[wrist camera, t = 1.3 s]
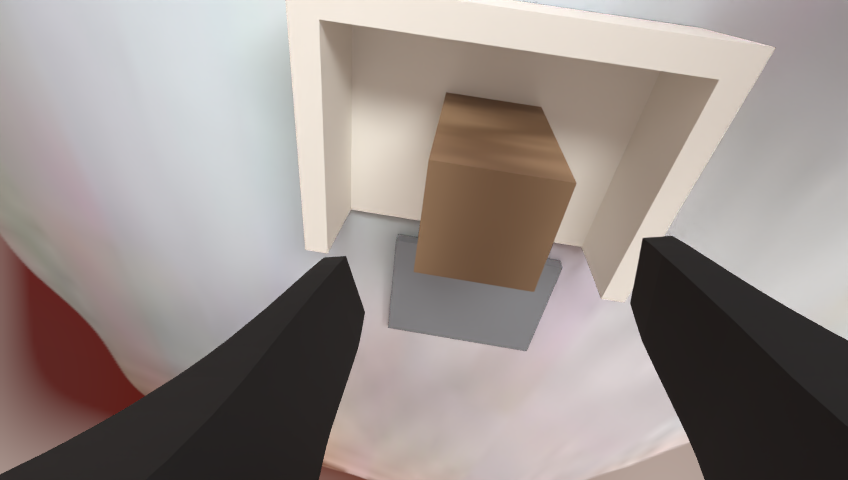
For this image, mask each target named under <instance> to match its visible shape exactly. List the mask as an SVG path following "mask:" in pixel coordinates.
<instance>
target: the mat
mask: <svg viewBox="0 0 848 480" xmlns="http://www.w3.org/2000/svg"><path fill="white" fill-rule="evenodd" d="M417 242H418V238H417V237H411V236H405V235H399V234H398V237H397V240H396V249H395V260H394V271H393V281H392V292H391V303H390V313H389V324H388V328H393V329H399V330H405V331H411V332H416V333H422V334H428V335H434V336H440V337H446V338H452V339H458V340H463V341H469V342H475V343H481V344H487V345H493V346H499V347H505V348H510V349H516V350H522V351H527V349H528V347H529V345H530V342H531V340H532V338H533V335H534V333H535V331H536V328H537V326H538V324H539V321H540V319H541V317H542V314H543V312H544V310H545V307H546V305H547V303H548V300H549V298H550V296H551V293H552V291H553V289H554V286H555V284H556V282H557V279H558V277H559V275H560V272H561V270H562V265H561V261H558V260H552V259H547V260H546V263H545V265H544V268H543V271H542V273H541V276H540V278H539V281H538V283H537V286H536V288H535V291H534V292H530V291H524V290H518V289H512V288H506V287H500V286H494V285H488V284H482V283H476V282H470V281H464V280H458V279H452V278H446V277H440V276H434V275H428V274H422V273H416V272H414V265H415V257H416V250H417Z"/></svg>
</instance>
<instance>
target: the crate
mask: <svg viewBox="0 0 848 480" xmlns="http://www.w3.org/2000/svg"><path fill="white" fill-rule="evenodd" d="M285 1H286V13H287V26H288V38H289V51H290V63H291V76H292V89H293V101H294V114H295V126H296V139H297V151H298V164H299V177H300V189H301V202H302V214H303V227H304V239H305V250H310V251H316V252H322V253H328V252H329V250H330V248H331V246H332V244H333V243H334V241H335V239H336V237H337V235H338V233H339V231H340V229H341V227H342V226H343V224H344V222H345V220H346V218H347V216H348V214H349V212H350V210H357V211H363V212H369V213H376V214H382V215H388V216H394V217H400V218H406V219H412V220H419V221H420V220H421V213H422V205H423V198H424V190H425V183H426V175H427V168H428V160H429V156H430V152H431V148H432V145H433V141H434V137H435V133H436V129H437V125H438V122H439V118H440V114H441V110H442V106H443V102H444V99H445V95H446V92H447V93H454V94H460V95H467V96H473V97H480V98H486V99H493V100H499V101H506V102H512V103H519V104H525V105H532V106H538V107H542V109H543V111H544V114H545V116H546V118H547V120H548V122H549V124H550V127H551V129H552V131H553V133H554V135H555V137H556V140H557V142H558V144H559V146H560V148H561V150H562V153H563V155H564V157H565V159H566V161H567V163H568V166H569V168H570V170H571V172H572V174H573V176H574V178H575V181H576V183H577V184H576V186H575V189H574V191H573V194H572V196H571V199H570V202H569V204H568V207H567V209H566V212H565V214H564V217H563V219H562V222H561V225H560V227H559V230H558V232H557V235H556V237H555V240H554V243H560V244H566V245H572V246H578V247H582V249H583V252H584V254H585V257H586V260H587V262H588V265H589V268H590V270H591V273H592V276H593V279H594V281H595V284H596V287H597V289H598V292H599V295H600V297H601V299H605V300H611V301H617V302H623V303H625V301H626V299H627V297H628V296H629V294H630V292H631V291H632V289H633V286H634V281H635V276H636V270H637V265H638V260H639V255H640V249H641V244H642V239H643V238H647V237H663V236H664V235H665V233H666V232H667V230H668V228H669V227H670V225H671V223H672V222H673V220H674V218H675V217H676V215H677V213H678V212H679V210H680V208H681V207H682V205H683V203H684V201H685V200H686V198H687V196H688V195H689V193H690V191H691V190H692V188H693V186H694V185H695V183H696V181H697V180H698V178H699V176H700V175H701V173H702V171H703V169H704V168H705V166H706V164H707V163H708V161H709V159H710V158H711V156H712V154H713V153H714V151H715V149H716V148H717V146H718V144H719V143H720V141H721V139H722V137H723V136H724V134H725V132H726V131H727V129H728V127H729V126H730V124H731V122H732V121H733V119H734V117H735V116H736V114H737V112H738V111H739V109H740V107H741V105H742V104H743V102H744V100H745V99H746V97H747V95H748V94H749V92H750V90H751V89H752V87H753V85H754V84H755V82H756V80H757V78H758V77H759V75H760V73H761V72H762V70H763V68H764V67H765V65H766V63H767V62H768V60H769V58H770V57H771V55H772V53H773V52H774V50H775V48H776V47H772V46H768V45H764V44H761V43H757V42H753V41H749V40H745V39H741V38H738V37H734V36H730V35H726V34H722V33H718V32H715V31H711V30H707V29H703V28H698V27H691V26H684V25H677V24H671V23H664V22H657V21H650V20H643V19H637V18H630V17H623V16H616V15H610V14H603V13H596V12H589V11H582V10H576V9H569V8H562V7H555V6H548V5H542V4H535V3H528V2H521V1H515V0H285Z"/></svg>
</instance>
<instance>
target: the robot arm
mask: <svg viewBox="0 0 848 480" xmlns="http://www.w3.org/2000/svg"><path fill="white" fill-rule="evenodd" d="M630 304H631V307H632V310H633V314H634V317H635V320H636V324H637V327H638V330H639V333H640V336H641V339H642V342H643V344H644V346H645V348H646V350H647V353H648V355H649V357H650V359H651V361H652V363H653V365H654V367H655V370H656V372H657V374H658V376H659V378H660V380H661V382H662V384H663V386H664V388H665V390H666V392H667V395H668V397H669V399H670V401H671V403H672V405H673V407H674V409H675V411H676V413H677V415H678V417H679V419H680V422H681V424H682V426H683V428H684V430H685V432H686V434H687V436H688V439H689V441H690V443H691V445H692V448H693V450H694V453H695V455H696V457H697V460H698V463H699V465H700V468H701V471H702V473H703V476H704V479H705V480H848V340H846V339H844V338H842V337H840V336H838V335H836V334H835V333H833V332H831V331H829V330H827V329H825V328H824V327H822V326H820V325H818V324H817V323H815V322H813V321H811V320H809V319H808V318H806V317H804V316H802V315H800V314H799V313H797V312H795V311H793V310H791V309H790V308H788V307H786V306H785V305H783V304H781V303H780V302H778V301H776V300H774V299H773V298H771V297H769V296H768V295H766V294H764V293H763V292H761V291H759V290H758V289H756V288H755V287H753V286H751V285H750V284H748V283H747V282H745V281H743V280H742V279H740V278H739V277H737V276H735V275H734V274H732V273H731V272H729V271H727V270H726V269H724V268H723V267H721V266H720V265H718V264H717V263H715V262H713V261H712V260H710V259H709V258H707V257H706V256H704V255H702V254H701V253H699V252H698V251H696V250H695V249H693V248H691V247H690V246H688V245H687V244H685V243H683V242H682V241H680V240H678V239H677V238H675V237H673V236H663V237H647V238H643V239H642V244H641V249H640V255H639V260H638V265H637V270H636V276H635V281H634V286H633V291H632V297H631V302H630ZM364 314H365V311H364V308H363V305H362V302H361V299H360V296H359V293H358V290H357V287H356V285H355V282H354V279H353V276H352V273H351V270H350V267H349V264H348V261H347V258H346V256H342V257H325V258H323V259H322V260H321V261H319V262H318V263H317V264H316V265H314V266H313V267H312V268H311V269H310V270H309V271H308V272H306V273H305V274H304V275H303V276H302V277H301V278H300V279H299V280H297V281H296V282H295V283H294V284H293V285H292V286H291V287H290V288H288V289H287V290H286V291H285V292H284V293H283V294H282V295H281V296H279V297H278V298H277V299H276V300H275V301H274V302H273V303H271V304H270V305H269V306H268V307H267V308H266V309H265V310H263V311H262V312H261V313H260V314H259V315H257V316H256V317H255V318H254V319H253V320H251V321H250V322H249V323H248V324H246V325H245V326H244V327H243V328H242V329H240V330H239V331H238V332H237V333H235V334H234V335H233V336H232V337H231V338H229V339H228V340H227V341H225V342H224V343H223V344H222V345H220V346H219V347H218V348H216V349H215V350H213V351H212V352H211V353H209V354H208V355H207V356H205V357H204V358H202V359H201V360H200V361H198V362H197V363H195V364H194V365H192V366H191V367H190V368H188V369H187V370H185V371H184V372H182V373H181V374H179V375H178V376H176V377H175V378H173V379H172V380H170V381H169V382H167V383H165V384H164V385H162V386H161V387H159V388H157V389H156V390H154V391H153V392H151V393H149V394H148V395H146V396H145V397H143V398H141V399H140V400H138V401H137V402H135V403H134V404H132V405H130V406H129V407H127V408H125V409H124V410H122V411H120V412H118V413H117V414H115V415H113V416H111V417H110V418H108V419H106V420H105V421H103V422H101V423H99V424H97V425H96V426H94V427H92V428H90V429H88V430H86V431H85V432H83V433H81V434H79V435H77V436H75V437H73V438H72V439H70V440H68V441H66V442H65V443H62V444H60V445H58V446H57V447H55V448H53V449H51V450H49V451H47V452H45V453H43V454H41V455H39V456H37V457H35V458H33V459H31V460H29V461H27V462H25V463H23V464H21V465H19V466H17V467H14V468H12V469H11V470H9V471H6V472H4V473H2V474H1V475H0V480H319V476H320V472H321V467H322V463H323V459H324V454H325V450H326V446H327V442H328V439H329V435H330V432H331V428H332V425H333V422H334V419H335V416H336V413H337V410H338V407H339V404H340V401H341V398H342V395H343V392H344V389H345V386H346V383H347V380H348V377H349V374H350V371H351V368H352V365H353V362H354V359H355V356H356V353H357V349H358V346H359V341H360V336H361V332H362V326H363V320H364Z"/></svg>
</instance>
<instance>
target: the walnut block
mask: <svg viewBox="0 0 848 480" xmlns="http://www.w3.org/2000/svg"><path fill="white" fill-rule="evenodd" d="M576 184H577V183H576V181H575V178H574V176H573V174H572V172H571V170H570V168H569V166H568V163H567V161H566V159H565V157H564V155H563V153H562V150H561V148H560V146H559V144H558V142H557V140H556V137H555V135H554V133H553V131H552V129H551V127H550V124H549V122H548V120H547V118H546V116H545V114H544V111H543V109H542V107H538V106H532V105H525V104H519V103H512V102H506V101H499V100H493V99H486V98H480V97H473V96H467V95H460V94H454V93H447V92H446V95H445V99H444V102H443V106H442V110H441V114H440V118H439V122H438V125H437V129H436V133H435V137H434V141H433V145H432V148H431V152H430V156H429V160H428V168H427V175H426V183H425V190H424V198H423V205H422V213H421V220H420V227H419V235H418V242H417V250H416V257H415V265H414V272H416V273H422V274H428V275H434V276H440V277H446V278H452V279H458V280H464V281H470V282H476V283H482V284H488V285H494V286H500V287H506V288H512V289H518V290H524V291H530V292H534V291H535V288H536V286H537V283H538V281H539V278H540V276H541V273H542V271H543V268H544V265H545V263H546V260H547V258H548V255H549V253H550V250H551V248H552V245H553V242H554V240H555V237H556V235H557V232H558V230H559V227H560V225H561V222H562V219H563V217H564V214H565V212H566V209H567V207H568V204H569V202H570V199H571V196H572V194H573V191H574V189H575V186H576Z"/></svg>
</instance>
